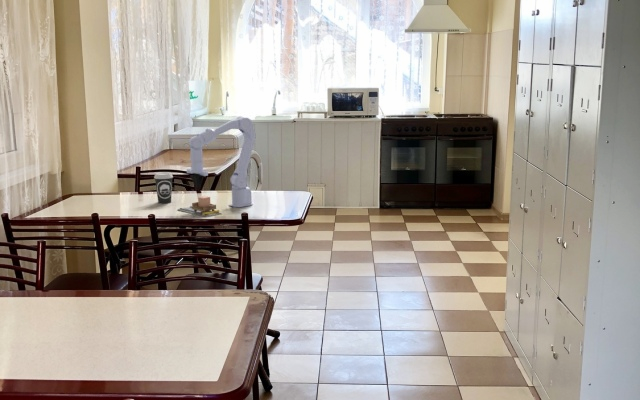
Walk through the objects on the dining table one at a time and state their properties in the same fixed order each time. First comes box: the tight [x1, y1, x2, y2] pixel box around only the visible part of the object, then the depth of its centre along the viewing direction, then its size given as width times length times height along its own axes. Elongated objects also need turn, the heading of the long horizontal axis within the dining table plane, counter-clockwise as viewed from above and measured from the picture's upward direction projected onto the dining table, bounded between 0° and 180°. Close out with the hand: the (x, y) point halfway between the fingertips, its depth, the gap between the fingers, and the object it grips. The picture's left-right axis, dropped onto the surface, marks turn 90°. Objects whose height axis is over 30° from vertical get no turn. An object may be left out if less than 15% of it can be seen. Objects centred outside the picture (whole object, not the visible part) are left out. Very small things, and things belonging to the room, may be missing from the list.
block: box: [197, 195, 211, 207], centre depth 322 cm, size 4×4×5 cm
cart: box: [191, 201, 217, 213], centre depth 322 cm, size 8×8×4 cm
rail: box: [177, 205, 223, 218], centre depth 325 cm, size 9×23×2 cm, turn 46°
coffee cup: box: [153, 171, 174, 204], centre depth 349 cm, size 10×10×15 cm
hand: (197, 189), depth 330 cm, fingers closed
